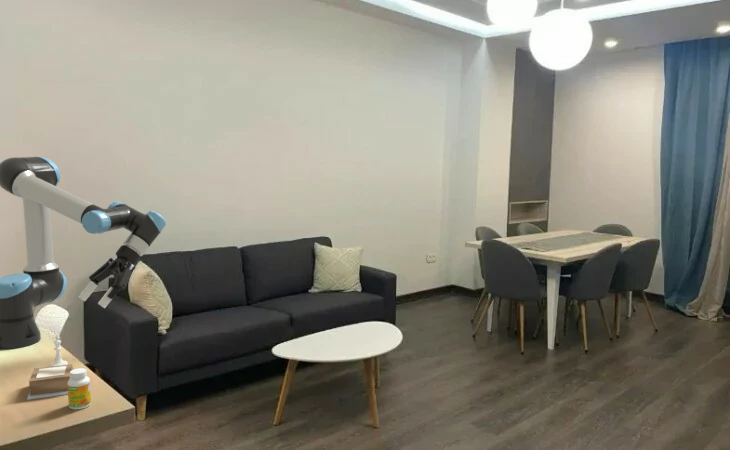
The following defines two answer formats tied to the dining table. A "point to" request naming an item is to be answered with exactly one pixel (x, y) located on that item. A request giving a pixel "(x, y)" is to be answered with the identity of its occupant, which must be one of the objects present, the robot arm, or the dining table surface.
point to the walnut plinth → (50, 379)
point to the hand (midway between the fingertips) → (91, 302)
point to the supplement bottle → (79, 389)
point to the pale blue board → (47, 395)
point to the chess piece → (58, 354)
